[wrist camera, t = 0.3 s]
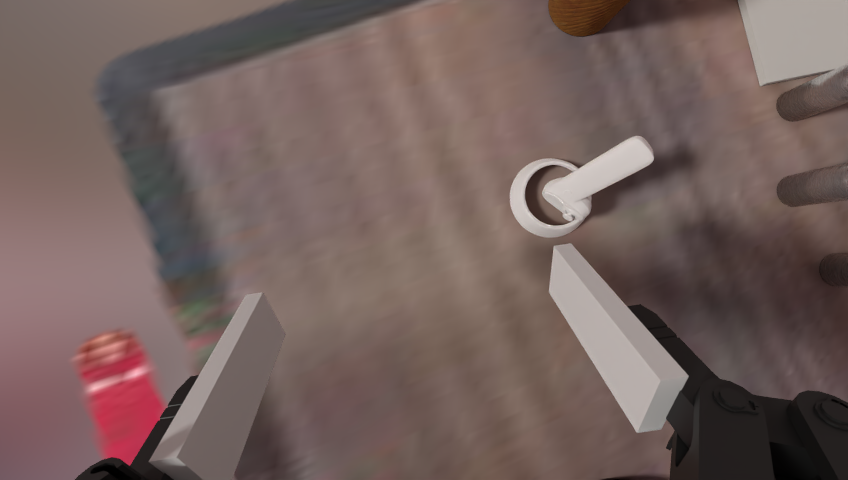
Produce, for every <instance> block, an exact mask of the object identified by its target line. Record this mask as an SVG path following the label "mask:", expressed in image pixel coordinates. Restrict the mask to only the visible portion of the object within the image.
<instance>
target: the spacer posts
mask: <svg viewBox="0 0 848 480" xmlns="http://www.w3.org/2000/svg"><path fill="white" fill-rule="evenodd" d="M845 103H848V64H846V65H843V66H841V67H839V68H837V69H835V70H832V71H830V72H828V73H826V74H824V75H821V76H819V77H817V78H815V79H813V80H811V81H808V82H806V83H804V84H802V85H800V86H797V87H795V88H793V89H791V90H789V91H787V92H784V93H783V94H781V95H780V97H779V98H778V100H777V111H778V113H779V114H780V116H781V117H782V118H784V119H786V120H788V121H798V120H801V119H804V118H807V117H809V116H812V115H815V114H818V113H820V112H823V111H826V110H829V109H831V108H834V107H837V106H840V105H842V104H845ZM777 195H778V197H779V199H780V200H781V202H782V203H784V204H785V205H787V206H790V207H798V206H806V205H813V204H821V203H829V202H836V201H844V200H848V163H845V164H841V165H836V166H832V167H827V168H822V169H818V170H813V171H809V172H804V173H800V174H795V175H791V176H787V177H785V178H783V179H782V180H781V181H780V182H779V184H778V186H777ZM820 274H821V276H822V278H823V280H824V281H825V282H827V283H828V284H830V285H832V286H840V287H848V254H831V255H828V256H827V257H825V258H824V259H823V260H822V262H821V264H820Z"/></svg>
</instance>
